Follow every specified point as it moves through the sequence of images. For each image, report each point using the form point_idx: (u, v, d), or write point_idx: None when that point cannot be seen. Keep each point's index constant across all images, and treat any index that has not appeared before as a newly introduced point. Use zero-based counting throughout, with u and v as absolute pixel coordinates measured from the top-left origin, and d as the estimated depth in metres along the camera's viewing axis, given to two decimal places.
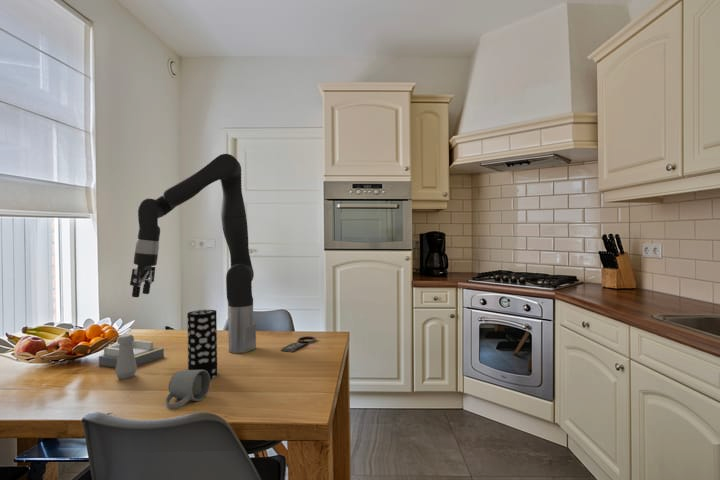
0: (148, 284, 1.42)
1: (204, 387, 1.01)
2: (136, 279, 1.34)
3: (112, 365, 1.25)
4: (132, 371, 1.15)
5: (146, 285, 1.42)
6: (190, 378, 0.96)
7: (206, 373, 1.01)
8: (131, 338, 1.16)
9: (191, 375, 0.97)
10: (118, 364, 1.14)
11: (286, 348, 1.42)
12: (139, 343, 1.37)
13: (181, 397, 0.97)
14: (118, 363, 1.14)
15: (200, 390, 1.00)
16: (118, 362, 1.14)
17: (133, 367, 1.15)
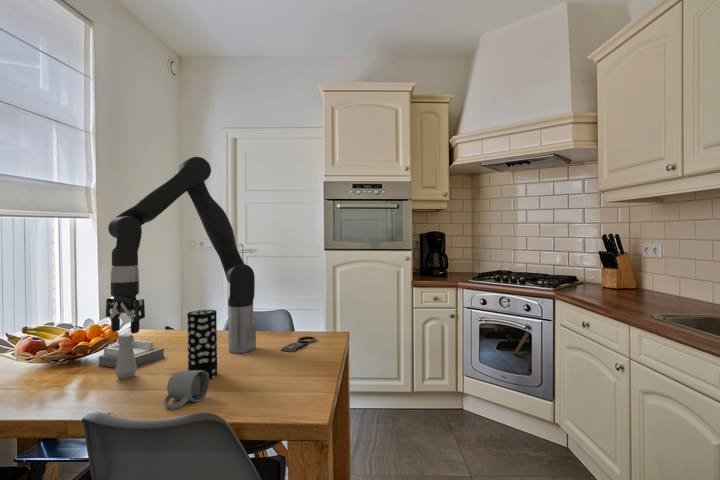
0: (117, 318, 1.18)
1: (203, 388, 1.01)
2: (132, 312, 1.14)
3: (112, 365, 1.25)
4: (132, 371, 1.15)
5: (116, 320, 1.17)
6: (189, 379, 0.96)
7: (205, 374, 1.01)
8: (131, 338, 1.16)
9: (190, 376, 0.96)
10: (118, 364, 1.14)
11: (286, 348, 1.42)
12: (139, 343, 1.37)
13: (180, 398, 0.96)
14: (118, 363, 1.14)
15: (199, 391, 0.99)
16: (118, 362, 1.14)
17: (133, 367, 1.15)
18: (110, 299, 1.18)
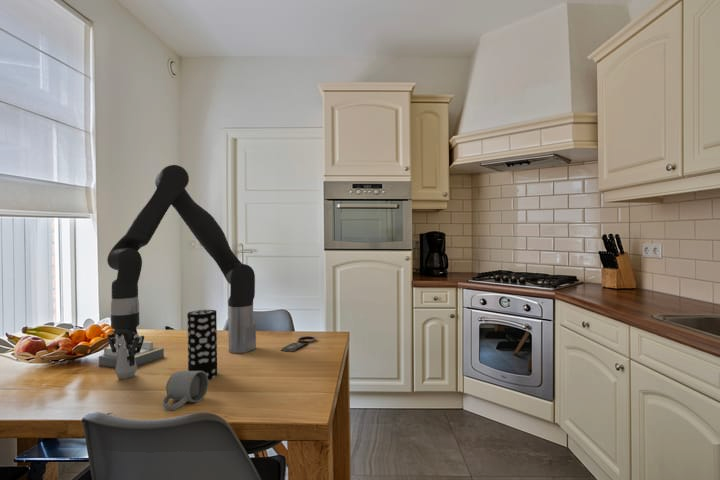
0: None
1: (202, 389, 1.01)
2: (129, 347, 1.15)
3: (112, 365, 1.25)
4: (132, 371, 1.15)
5: None
6: (188, 379, 0.95)
7: (204, 374, 1.00)
8: None
9: (189, 376, 0.96)
10: (118, 364, 1.14)
11: (286, 348, 1.42)
12: None
13: (179, 398, 0.96)
14: (118, 363, 1.14)
15: (198, 391, 0.99)
16: (118, 362, 1.14)
17: (133, 367, 1.15)
18: (111, 334, 1.17)
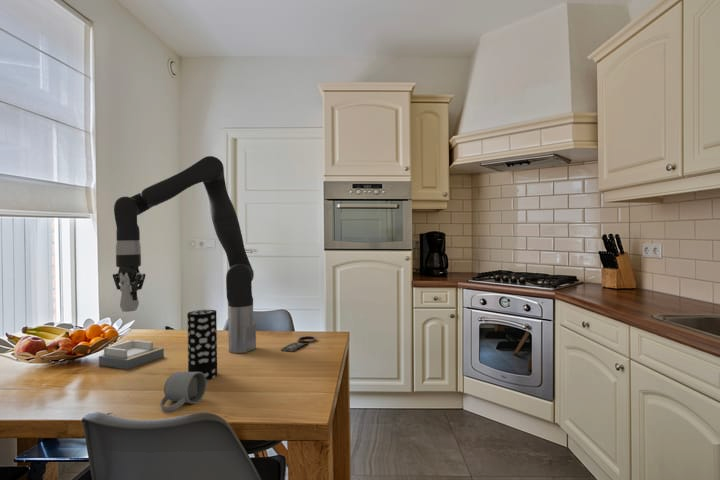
0: None
1: (200, 390, 1.00)
2: (132, 284, 1.30)
3: (112, 365, 1.25)
4: (135, 305, 1.31)
5: None
6: (186, 380, 0.95)
7: (202, 375, 1.00)
8: None
9: (187, 377, 0.95)
10: (122, 298, 1.29)
11: (286, 348, 1.42)
12: (139, 343, 1.37)
13: (176, 400, 0.95)
14: (122, 297, 1.29)
15: (196, 392, 0.98)
16: (122, 297, 1.30)
17: (136, 302, 1.31)
18: (116, 274, 1.33)
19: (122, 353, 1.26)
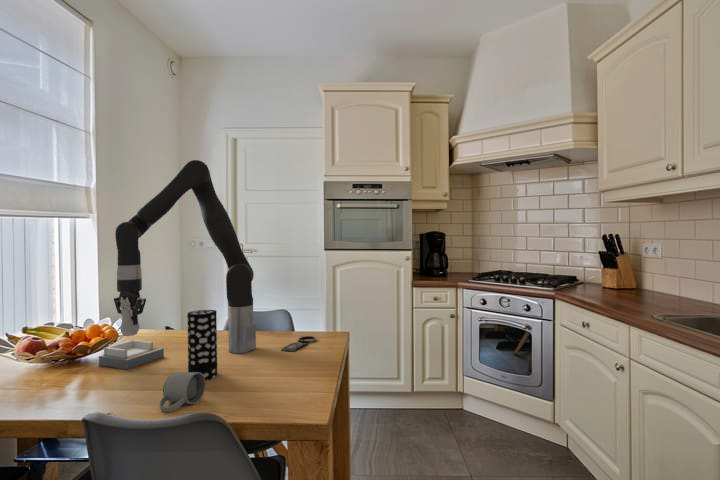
0: None
1: (200, 390, 1.00)
2: (133, 308, 1.31)
3: (112, 365, 1.25)
4: (135, 329, 1.31)
5: None
6: (184, 381, 0.94)
7: (201, 376, 0.99)
8: None
9: (186, 378, 0.95)
10: (123, 323, 1.30)
11: (287, 348, 1.42)
12: (139, 343, 1.37)
13: (175, 400, 0.95)
14: (123, 322, 1.30)
15: (195, 393, 0.98)
16: (123, 321, 1.30)
17: (136, 326, 1.32)
18: (117, 298, 1.34)
19: (122, 353, 1.26)
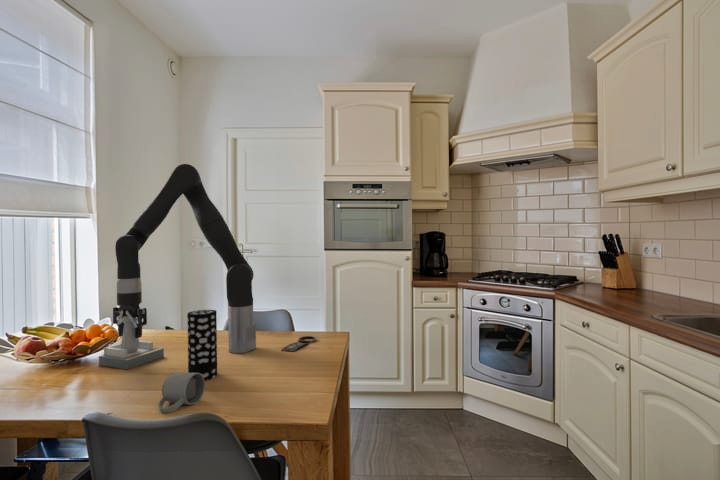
0: (123, 325, 1.34)
1: (199, 391, 0.99)
2: (136, 320, 1.30)
3: (112, 365, 1.25)
4: (136, 346, 1.31)
5: (122, 326, 1.33)
6: (184, 381, 0.94)
7: (200, 376, 0.99)
8: None
9: (185, 378, 0.95)
10: (123, 340, 1.30)
11: (287, 348, 1.42)
12: None
13: (174, 401, 0.94)
14: (123, 339, 1.30)
15: (194, 393, 0.98)
16: (123, 338, 1.30)
17: (137, 343, 1.32)
18: (116, 308, 1.34)
19: (122, 353, 1.26)
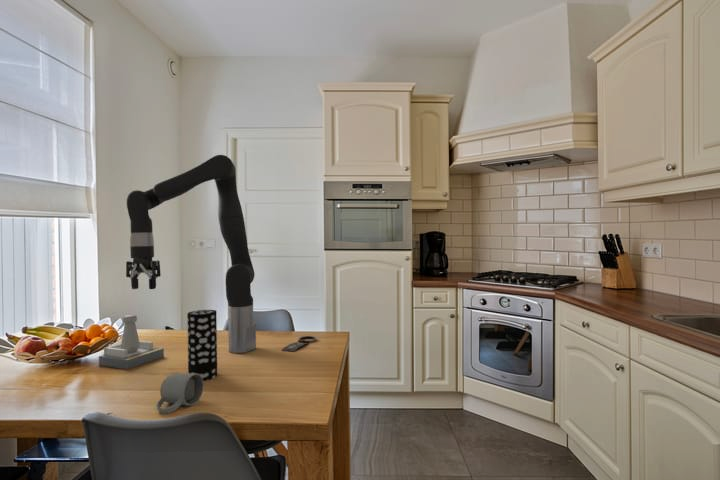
0: (136, 278, 1.39)
1: (197, 392, 0.99)
2: (149, 272, 1.35)
3: (112, 365, 1.25)
4: (136, 346, 1.31)
5: (135, 280, 1.38)
6: (182, 382, 0.93)
7: (199, 377, 0.98)
8: (134, 318, 1.32)
9: (183, 379, 0.94)
10: (123, 340, 1.30)
11: (287, 348, 1.42)
12: None
13: (173, 402, 0.94)
14: (123, 339, 1.30)
15: (193, 394, 0.97)
16: (123, 338, 1.30)
17: (137, 343, 1.32)
18: (129, 262, 1.38)
19: (122, 353, 1.26)
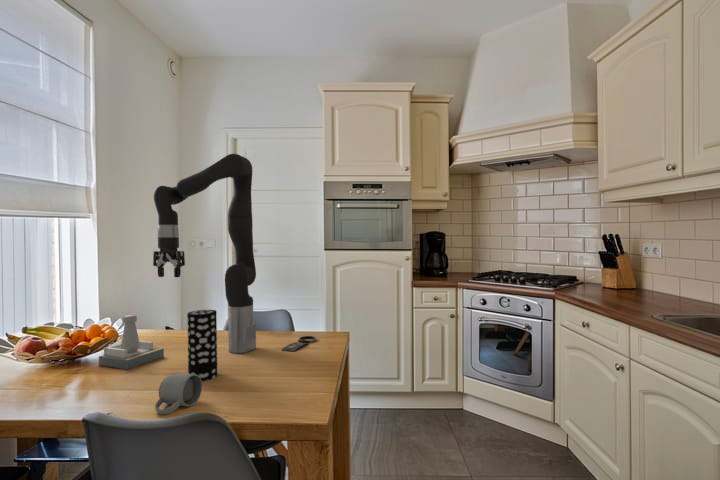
0: (162, 267, 1.50)
1: (196, 392, 0.98)
2: (175, 261, 1.46)
3: (112, 365, 1.25)
4: (136, 346, 1.31)
5: (161, 268, 1.49)
6: (181, 383, 0.93)
7: (198, 377, 0.98)
8: (134, 318, 1.32)
9: (182, 380, 0.94)
10: (123, 340, 1.30)
11: (287, 347, 1.43)
12: None
13: (171, 402, 0.93)
14: (123, 339, 1.30)
15: (191, 395, 0.97)
16: (123, 338, 1.30)
17: (137, 343, 1.32)
18: (156, 252, 1.50)
19: (122, 353, 1.26)
